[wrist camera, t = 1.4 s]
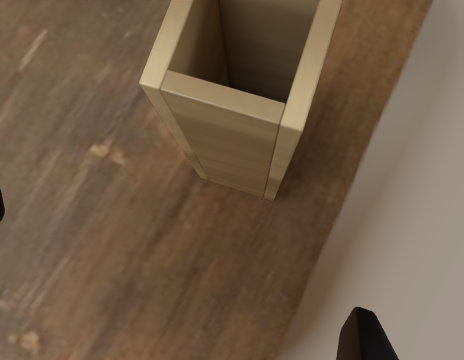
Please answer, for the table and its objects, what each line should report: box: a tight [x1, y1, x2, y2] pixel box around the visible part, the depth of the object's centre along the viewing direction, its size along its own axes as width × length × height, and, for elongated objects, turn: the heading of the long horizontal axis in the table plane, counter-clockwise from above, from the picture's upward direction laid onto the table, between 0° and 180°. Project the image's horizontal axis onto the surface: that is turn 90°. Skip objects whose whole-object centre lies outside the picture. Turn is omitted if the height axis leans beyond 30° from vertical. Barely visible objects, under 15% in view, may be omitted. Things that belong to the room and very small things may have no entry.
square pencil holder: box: [139, 0, 343, 201], centre depth 16 cm, size 5×4×12 cm
